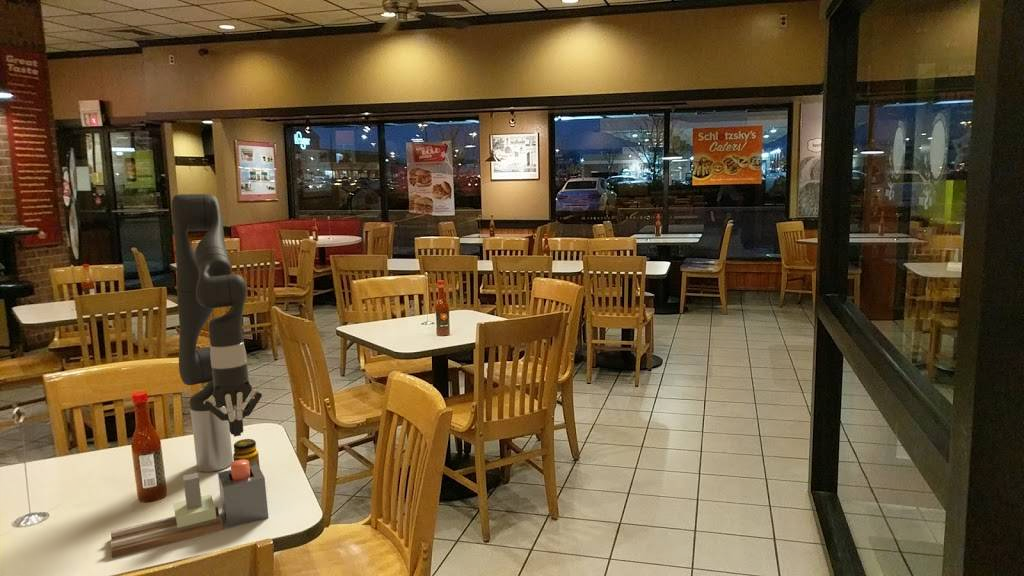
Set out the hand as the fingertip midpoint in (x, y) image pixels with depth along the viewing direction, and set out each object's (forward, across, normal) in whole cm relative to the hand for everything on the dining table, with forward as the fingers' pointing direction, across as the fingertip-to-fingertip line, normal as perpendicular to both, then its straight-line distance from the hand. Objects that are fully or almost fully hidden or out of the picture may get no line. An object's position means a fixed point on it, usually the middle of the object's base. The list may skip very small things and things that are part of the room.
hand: (236, 435), depth 164 cm
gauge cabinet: (+20, 0, 0) cm, 20 cm away
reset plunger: (+13, 0, 0) cm, 13 cm away
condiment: (+20, -2, -16) cm, 26 cm away
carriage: (+17, +11, 0) cm, 20 cm away
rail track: (+20, +16, 0) cm, 26 cm away
